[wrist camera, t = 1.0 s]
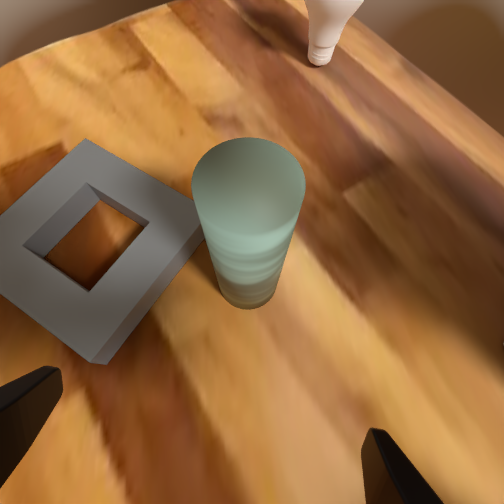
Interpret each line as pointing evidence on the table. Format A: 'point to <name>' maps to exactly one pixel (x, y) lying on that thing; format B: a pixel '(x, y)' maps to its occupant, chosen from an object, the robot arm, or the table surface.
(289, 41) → the table surface
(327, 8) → the lightbulb
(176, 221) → the holder board
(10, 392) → the robot arm
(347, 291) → the table surface
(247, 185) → the peg
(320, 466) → the table surface
